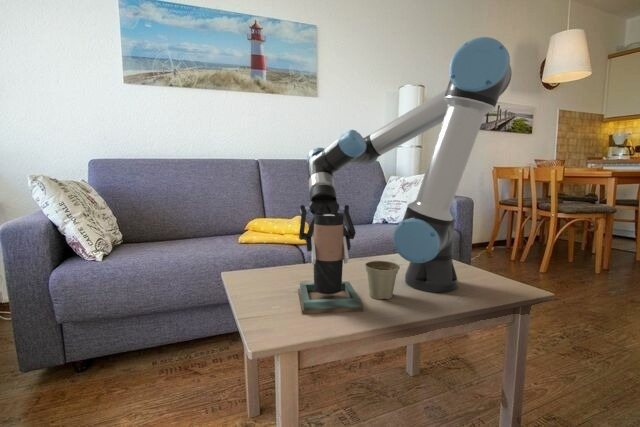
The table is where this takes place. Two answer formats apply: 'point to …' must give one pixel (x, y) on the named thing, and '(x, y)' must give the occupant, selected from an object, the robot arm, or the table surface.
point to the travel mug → (328, 252)
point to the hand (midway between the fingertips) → (330, 261)
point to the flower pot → (381, 278)
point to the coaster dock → (328, 300)
